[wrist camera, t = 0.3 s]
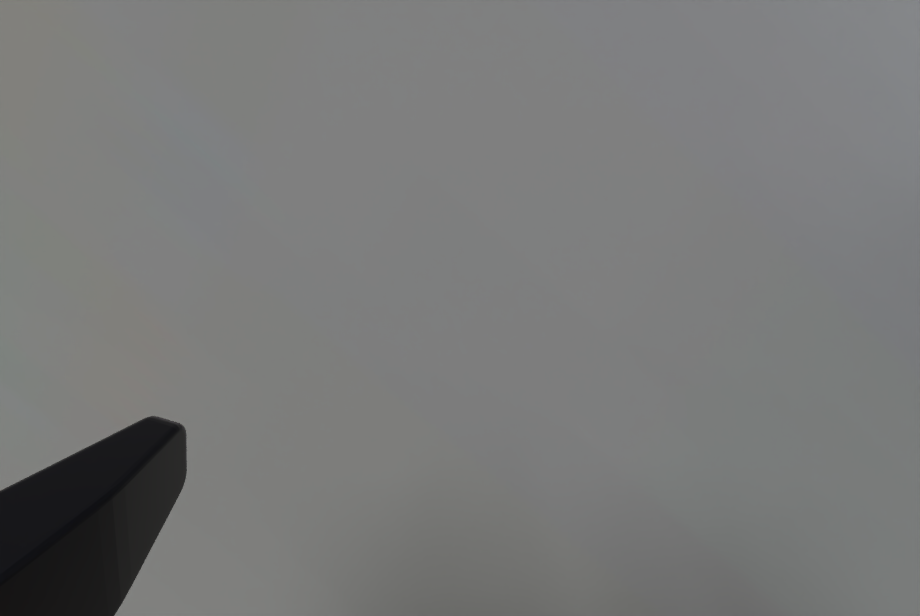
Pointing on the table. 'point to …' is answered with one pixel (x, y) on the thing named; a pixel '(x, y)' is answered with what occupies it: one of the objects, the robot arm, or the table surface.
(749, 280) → the table surface
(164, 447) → the robot arm
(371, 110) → the table surface
